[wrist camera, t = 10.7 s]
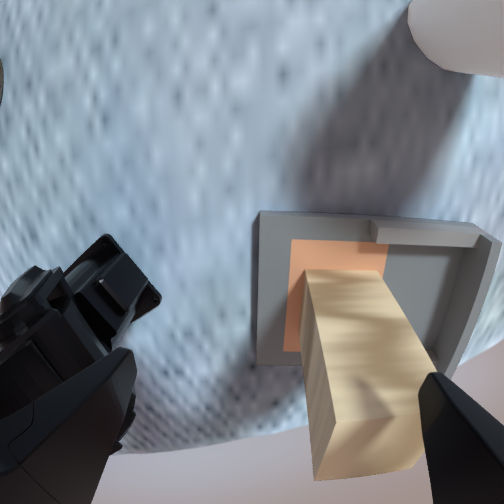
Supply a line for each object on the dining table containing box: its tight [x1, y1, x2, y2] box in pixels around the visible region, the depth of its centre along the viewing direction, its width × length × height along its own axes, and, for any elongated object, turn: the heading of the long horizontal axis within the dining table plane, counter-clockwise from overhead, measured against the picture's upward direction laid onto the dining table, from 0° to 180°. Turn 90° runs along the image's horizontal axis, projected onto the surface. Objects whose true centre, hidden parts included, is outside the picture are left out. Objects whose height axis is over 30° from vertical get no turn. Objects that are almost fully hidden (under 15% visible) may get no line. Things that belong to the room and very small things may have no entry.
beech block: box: [298, 269, 437, 481], centre depth 16 cm, size 5×5×12 cm
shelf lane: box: [256, 211, 502, 380], centre depth 21 cm, size 16×12×4 cm
